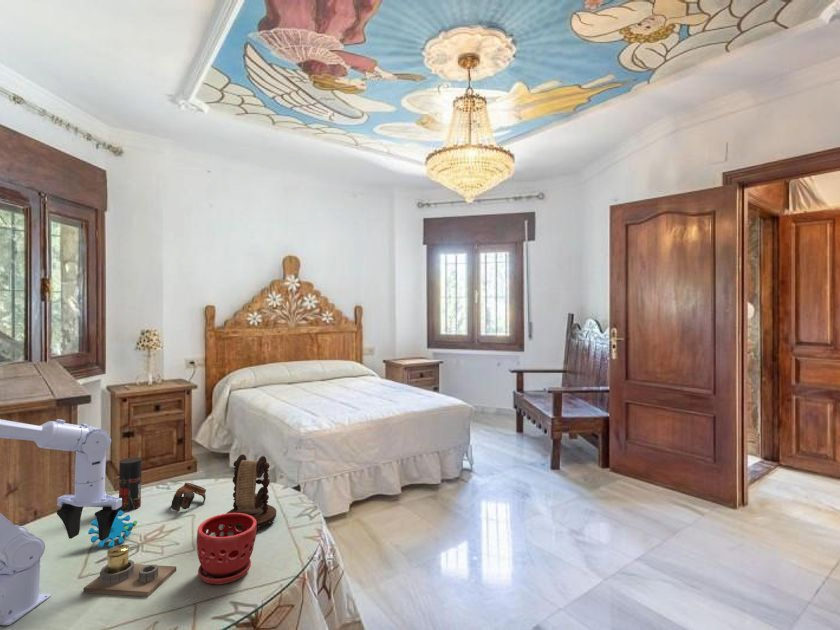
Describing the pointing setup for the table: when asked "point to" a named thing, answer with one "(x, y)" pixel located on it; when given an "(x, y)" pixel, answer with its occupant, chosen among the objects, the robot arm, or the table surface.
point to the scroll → (252, 491)
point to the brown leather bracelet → (186, 496)
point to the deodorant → (130, 483)
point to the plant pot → (225, 547)
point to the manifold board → (131, 580)
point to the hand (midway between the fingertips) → (88, 537)
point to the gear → (114, 530)
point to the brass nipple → (117, 559)
